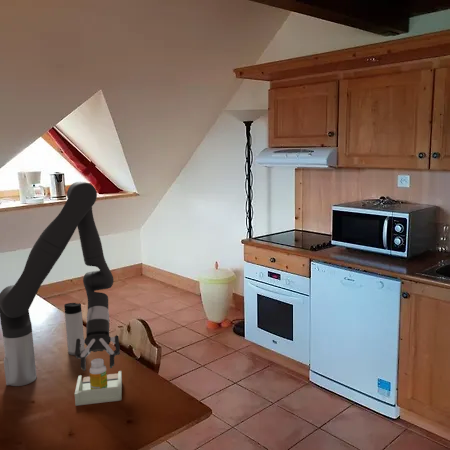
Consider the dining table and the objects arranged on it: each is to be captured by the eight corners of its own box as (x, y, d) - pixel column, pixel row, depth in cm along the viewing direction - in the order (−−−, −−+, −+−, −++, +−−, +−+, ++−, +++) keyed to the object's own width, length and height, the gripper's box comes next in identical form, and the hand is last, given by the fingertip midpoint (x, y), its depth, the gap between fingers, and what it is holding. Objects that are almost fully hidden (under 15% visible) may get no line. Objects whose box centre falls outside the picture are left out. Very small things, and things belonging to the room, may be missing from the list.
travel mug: (64, 354, 187) (59, 305, 183) (75, 347, 193) (71, 299, 189) (77, 356, 184) (73, 306, 181) (88, 349, 190) (84, 301, 187)
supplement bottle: (103, 393, 155) (101, 365, 153) (87, 392, 156) (85, 364, 154) (110, 385, 160) (108, 357, 158) (95, 384, 161) (93, 356, 159)
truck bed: (75, 405, 150) (74, 393, 149) (80, 379, 167) (80, 368, 166) (121, 400, 153) (120, 388, 152) (122, 375, 169) (121, 364, 168)
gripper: (75, 319, 161) (73, 366, 152) (118, 316, 164) (119, 362, 155) (77, 328, 167) (76, 374, 158) (119, 325, 170) (120, 370, 161)
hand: (97, 368), depth 156 cm, fingers open, 8 cm apart
